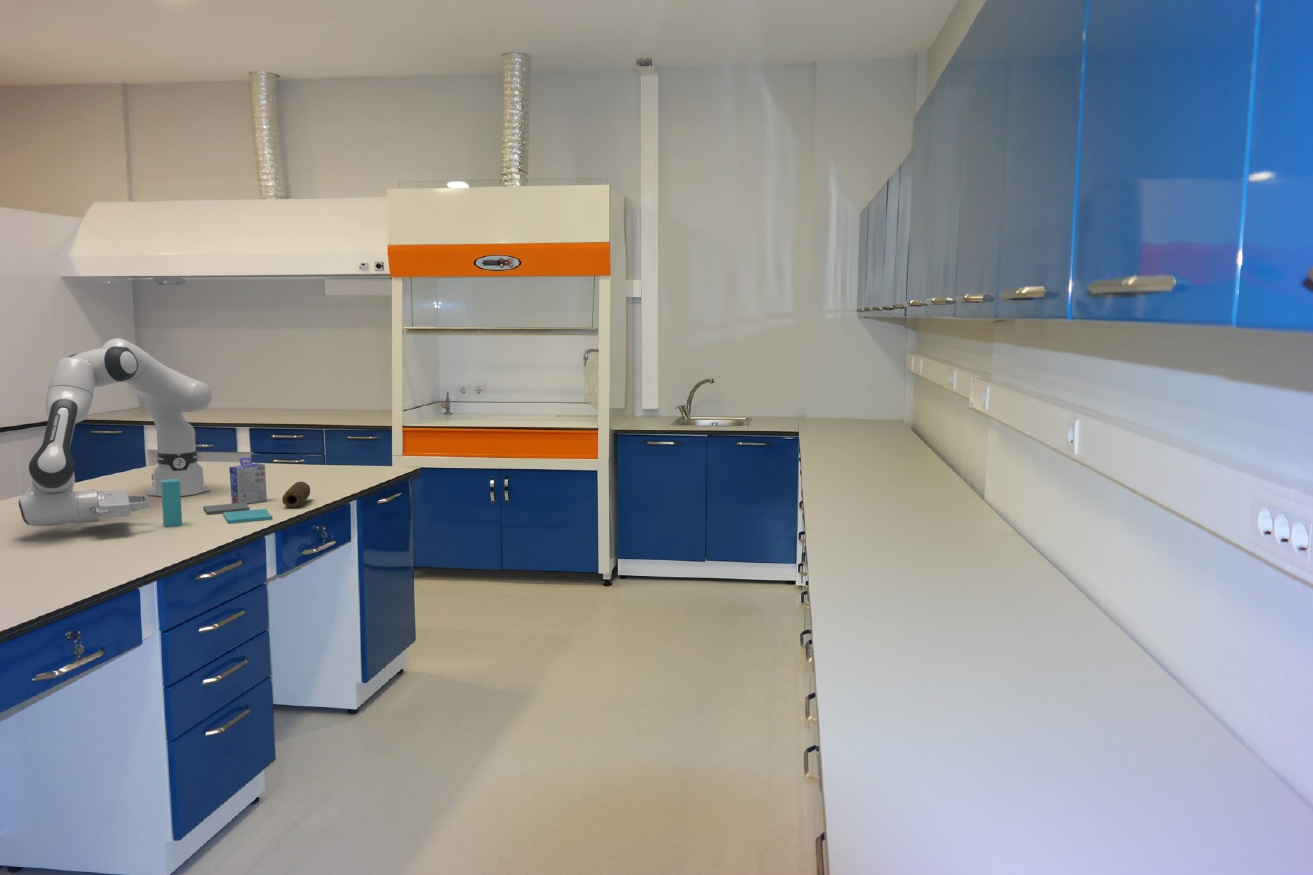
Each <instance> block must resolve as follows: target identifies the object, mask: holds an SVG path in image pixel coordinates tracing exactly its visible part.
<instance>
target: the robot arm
mask: <svg viewBox="0 0 1313 875" xmlns="http://www.w3.org/2000/svg"><path fill="white" fill-rule="evenodd" d="M122 382H125V383H126V384H128V385H129V386H131V387H133V388H134V389H135V390H136V398H137V401H138V402H139V404H140V405H141V406H143V408H144V409H146V410H147V412H148V413H149V415H150V416H151V419H152V421H153V422H154V426H155V429H156V434H157V444H158V452H157V454H156V455H157V457H156V460H157V464H158V465H157V467H156V468H154V470H153V472H152V473H151V481H152V487H151V488H150V489H149V490H148V492H147V495H144V494H143V495H142V494H141V495H135V494H130V495H129V494H128V492H127V491H124V490H123V491H122V490H103V491H102V490H100V491H98V489H89V490H81V491H80V490H79V491H73V489H74V486H75V483H76V480H75V478H76V477H75V460H74V459H73V456H72V454H71V446H72V445H71V444H72V440H73V435H74V431H75V430H74V429H75V426H76V424H77V423H80V422H83V421H84V420H85V419H86V418H87V417H88V414H89V412H90V409H91V406H92V403H93V400H94V399H93V398H94V391H95V388H99V387H105V386H108V385H109V386H110V385H113V384H117V383H122ZM48 383H49V384H48V387H47V390H46V399H45V412H46V415H47V423H46V428H45V432H44V436H43V440H42V444H41V446H40V448H39V449H37V451H36V452H35V453H34V455H33V456H32V457H31V459H30V462H29V463H28V471H29V474H30V477H31V480H30V483H29V485H28V488H27V489H26V491H25V492H24V494H22V496H21V497H20V498H19V499H18V508H19V510H20V511H19V512H20V515H21V518H22V521H23V522H24V523H25V524H27V525H28V526H31V527H32V526H33V527H52V526H54V527H55V526H62V525H65V524H85V523H86V524H87V523H97V522H99V521H100V518H102V519H105V518H107V519H109V518H123V517H124V518H126V517H130V516H131V514H132V512H135V511H140V510H145V509H150V503H149V501H148V496H151V497H153V496H158V497H162V492H161V480H167V479H179V481H180V493H181V497H185V496H192V495H193V496H194V495H198V494H201V493H205V492H209V491H211V487H209V486H207V485H205V478H204V468H203V467H202V466H201V465H200V464H199V463H198V458H199V457H198V451H197V450H196V433H195V432H196V431H195V428H194V426H193V425H191V424H190V423H189V422H188V421H187V420H186V419H185V416H183V413H184V412H185V413H193V412H199V411H203V410H205V409H207V408H208V407H209V406H210V405H211V402H212V398H213V395H212V390H211V387H210V386H209V385H208V384H207V383H206V382H204V381H201V380H198V379H195V378H192V377H190V376H188V375H185V374H183V373H182V372H179V371H177V370H175V369H173V368H171V367H168V366H167V365H164V364H163V363H161V362H160V361H158V359H156V358H154V357H153V356H152V355H150V354H149V353H148V352H147V351H145V350H143V348H141V347H139V346H138V345H136V344H134V343H132V342H130V341H128V340H125V339H124V338H123V339H122V338H118V337H117V338H112V339H109V340H107V341H106V342H105V343H104V344H103V345H102V346H101V347H100V348H94V349H90V350H87V351H83V352H80V353H74V354H70V355H69V356H67V357H65V358H62V359H60V360H59V361H58V362H57V363H56V365H55V367H54V369H53V370H52V374H51V376H50V380H49V382H48ZM182 412H183V413H182Z"/></svg>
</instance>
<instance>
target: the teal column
mask: <svg viewBox="0 0 1313 875" xmlns="http://www.w3.org/2000/svg"><path fill="white" fill-rule="evenodd" d="M161 492H162V496H161V507H162V508H161V509H162V525H163V527H164V528H169V527H178V526H179V527H181V526H183V517H182V516H183V514H182V498H181V497H182V496H181V493H180V481H179V479H167V480H161Z"/></svg>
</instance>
